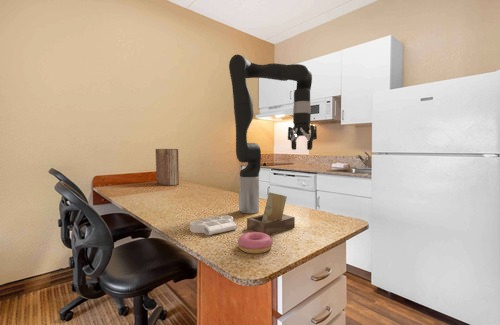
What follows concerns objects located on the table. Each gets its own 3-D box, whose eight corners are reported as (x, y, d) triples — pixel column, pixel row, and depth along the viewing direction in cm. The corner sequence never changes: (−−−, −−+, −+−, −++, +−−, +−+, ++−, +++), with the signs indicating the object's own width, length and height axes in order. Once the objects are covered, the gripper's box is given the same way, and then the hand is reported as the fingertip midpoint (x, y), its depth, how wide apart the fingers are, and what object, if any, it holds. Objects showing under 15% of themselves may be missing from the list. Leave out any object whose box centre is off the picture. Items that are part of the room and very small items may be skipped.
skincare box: (261, 222, 99) (267, 191, 101) (268, 224, 102) (275, 193, 103) (272, 226, 94) (279, 194, 96) (280, 227, 97) (287, 196, 98)
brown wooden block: (179, 185, 213) (178, 148, 211) (168, 186, 207) (167, 149, 205) (166, 182, 232) (165, 148, 230) (156, 183, 226) (155, 148, 224)
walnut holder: (247, 228, 99) (246, 218, 98) (274, 221, 108) (274, 211, 108) (266, 236, 90) (266, 224, 90) (294, 227, 100) (294, 217, 100)
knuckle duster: (200, 239, 88) (185, 228, 100) (244, 229, 99) (225, 220, 110) (200, 230, 88) (184, 220, 100) (244, 221, 98) (225, 213, 110)
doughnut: (272, 242, 85) (272, 229, 85) (272, 256, 74) (272, 242, 74) (239, 241, 86) (239, 229, 85) (235, 255, 75) (235, 241, 75)
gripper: (284, 113, 116) (283, 149, 117) (309, 110, 105) (309, 149, 106) (294, 115, 121) (294, 149, 122) (320, 111, 110) (320, 149, 111)
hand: (301, 149), depth 114 cm, fingers open, 8 cm apart
